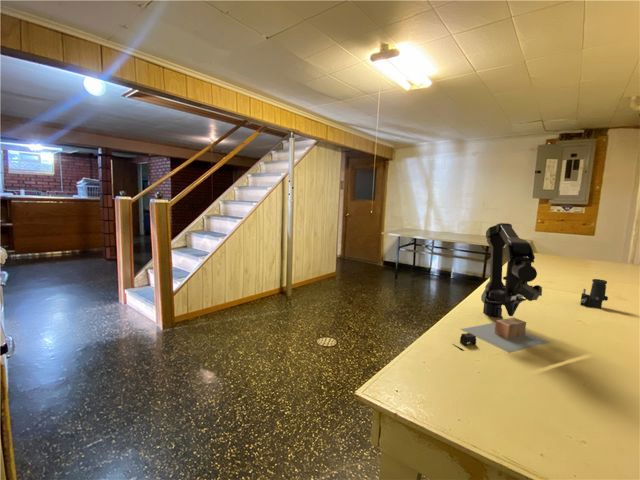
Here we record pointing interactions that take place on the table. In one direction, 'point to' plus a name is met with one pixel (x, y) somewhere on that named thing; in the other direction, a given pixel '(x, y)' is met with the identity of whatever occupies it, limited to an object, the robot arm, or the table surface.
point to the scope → (595, 294)
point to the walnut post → (510, 327)
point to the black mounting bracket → (467, 339)
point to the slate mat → (509, 344)
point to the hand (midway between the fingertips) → (510, 315)
